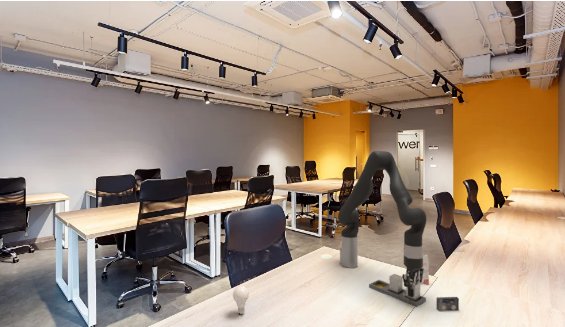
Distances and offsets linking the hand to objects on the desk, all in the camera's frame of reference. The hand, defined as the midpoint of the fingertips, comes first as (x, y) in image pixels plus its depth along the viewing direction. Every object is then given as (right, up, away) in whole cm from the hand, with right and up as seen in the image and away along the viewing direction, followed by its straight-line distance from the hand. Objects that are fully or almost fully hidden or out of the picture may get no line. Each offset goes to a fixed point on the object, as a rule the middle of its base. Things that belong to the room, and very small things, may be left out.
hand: (413, 294), depth 120 cm
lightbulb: (-73, -5, -7) cm, 73 cm away
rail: (-5, -4, +6) cm, 9 cm away
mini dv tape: (+11, -4, -7) cm, 13 cm away
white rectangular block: (0, -3, 0) cm, 3 cm away
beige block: (-5, -3, +6) cm, 8 cm away
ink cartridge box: (+11, -4, +19) cm, 22 cm away
